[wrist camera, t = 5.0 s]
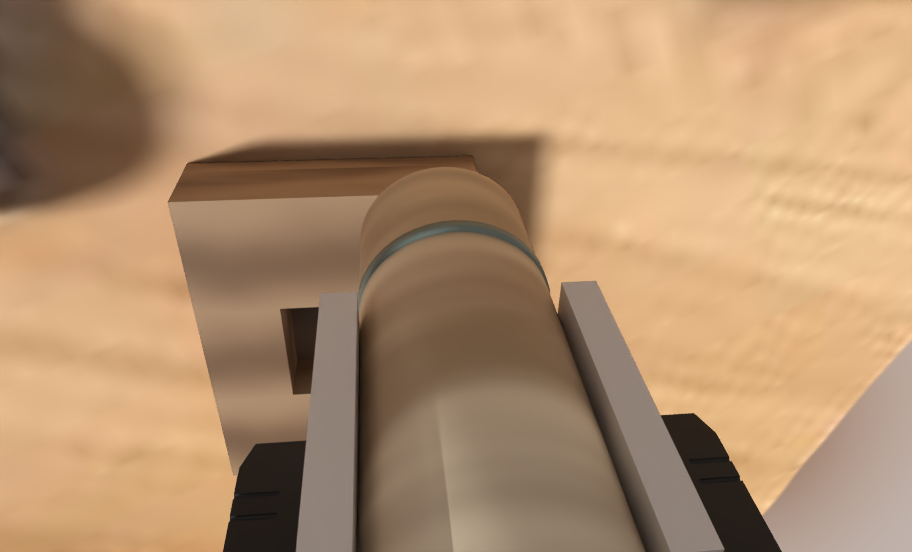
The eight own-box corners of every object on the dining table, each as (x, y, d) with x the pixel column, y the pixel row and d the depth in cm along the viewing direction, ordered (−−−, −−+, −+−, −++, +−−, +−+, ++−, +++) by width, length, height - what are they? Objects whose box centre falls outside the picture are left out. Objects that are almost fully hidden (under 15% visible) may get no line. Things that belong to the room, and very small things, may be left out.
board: (186, 163, 34) (167, 202, 31) (472, 155, 35) (482, 192, 32) (243, 425, 44) (233, 475, 41) (463, 411, 45) (471, 458, 42)
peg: (352, 167, 17) (309, 1330, 4) (531, 162, 18) (1003, 1198, 5) (363, 312, 20) (356, 1323, 7) (519, 304, 20) (802, 1238, 7)
